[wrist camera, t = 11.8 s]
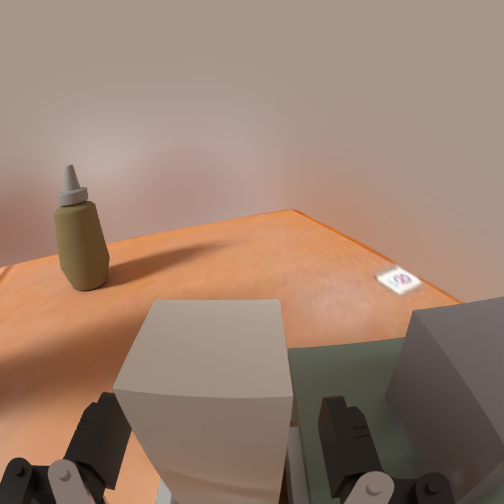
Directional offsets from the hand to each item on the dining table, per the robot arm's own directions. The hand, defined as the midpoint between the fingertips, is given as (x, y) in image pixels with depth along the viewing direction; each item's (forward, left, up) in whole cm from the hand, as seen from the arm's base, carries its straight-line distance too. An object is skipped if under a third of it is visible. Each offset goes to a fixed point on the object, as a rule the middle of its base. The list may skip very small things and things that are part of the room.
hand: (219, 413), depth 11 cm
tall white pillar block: (0, 0, -10) cm, 10 cm away
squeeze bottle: (-38, +2, -10) cm, 39 cm away
